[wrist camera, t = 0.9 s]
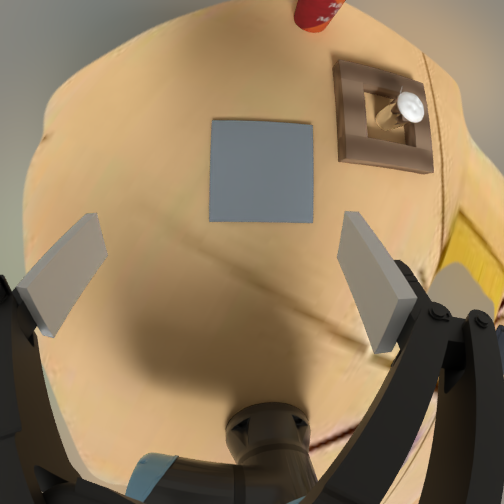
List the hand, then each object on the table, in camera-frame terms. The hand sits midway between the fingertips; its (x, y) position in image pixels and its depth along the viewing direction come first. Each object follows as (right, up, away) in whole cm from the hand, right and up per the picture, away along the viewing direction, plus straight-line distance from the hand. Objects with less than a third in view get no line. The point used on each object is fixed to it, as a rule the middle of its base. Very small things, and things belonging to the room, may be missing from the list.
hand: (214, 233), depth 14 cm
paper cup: (+12, +38, +20) cm, 44 cm away
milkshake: (+22, +20, +23) cm, 38 cm away
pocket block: (+22, +20, +23) cm, 38 cm away
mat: (+3, +10, +23) cm, 25 cm away
